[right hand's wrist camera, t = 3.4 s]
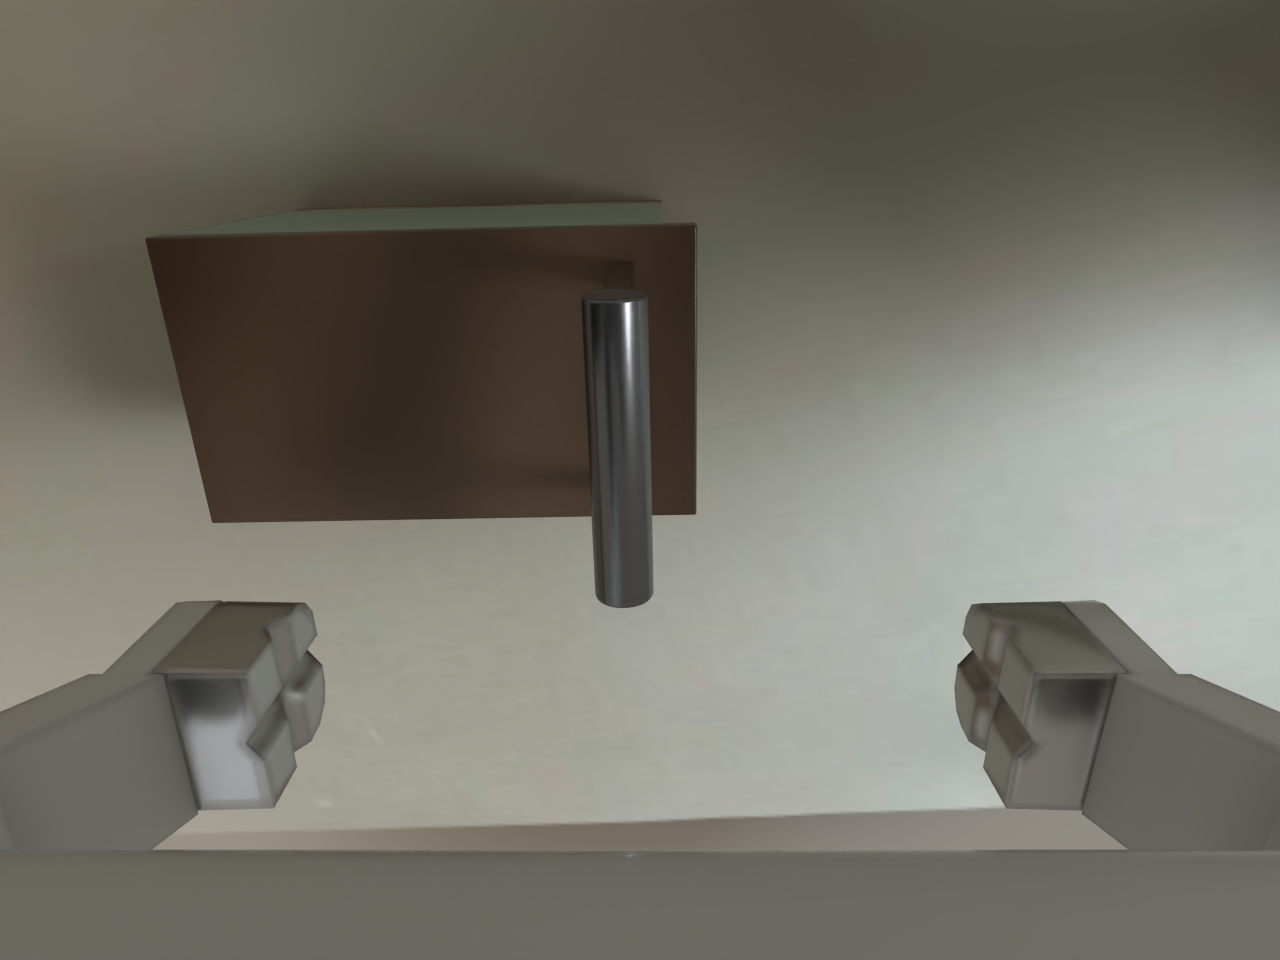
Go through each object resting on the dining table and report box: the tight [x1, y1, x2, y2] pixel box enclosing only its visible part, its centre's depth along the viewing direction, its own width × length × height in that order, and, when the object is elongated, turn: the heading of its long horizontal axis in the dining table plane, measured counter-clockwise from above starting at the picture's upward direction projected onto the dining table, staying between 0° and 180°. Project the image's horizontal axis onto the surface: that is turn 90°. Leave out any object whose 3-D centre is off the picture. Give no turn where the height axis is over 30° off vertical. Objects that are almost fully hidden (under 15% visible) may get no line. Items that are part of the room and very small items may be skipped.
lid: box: [146, 223, 697, 608], centre depth 24 cm, size 17×10×9 cm, turn 91°
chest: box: [165, 201, 665, 235], centre depth 33 cm, size 16×10×11 cm, turn 91°
